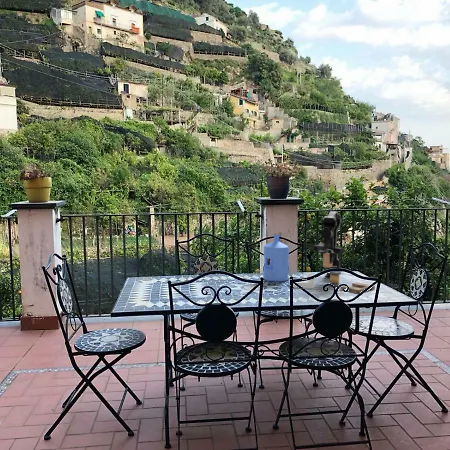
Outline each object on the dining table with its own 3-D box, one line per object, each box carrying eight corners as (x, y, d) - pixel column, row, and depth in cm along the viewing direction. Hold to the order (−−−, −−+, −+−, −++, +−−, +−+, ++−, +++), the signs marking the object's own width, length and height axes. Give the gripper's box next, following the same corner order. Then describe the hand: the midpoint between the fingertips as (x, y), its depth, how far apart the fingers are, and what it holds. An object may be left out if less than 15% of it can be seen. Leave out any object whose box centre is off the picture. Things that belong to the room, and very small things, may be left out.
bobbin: (326, 284, 255) (326, 271, 254) (332, 283, 260) (333, 270, 259) (336, 287, 250) (336, 273, 249) (342, 285, 255) (343, 272, 254)
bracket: (311, 285, 254) (311, 273, 253) (314, 288, 247) (314, 275, 246) (289, 285, 254) (289, 272, 253) (291, 288, 247) (292, 275, 246)
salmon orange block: (322, 266, 260) (323, 253, 259) (326, 265, 262) (327, 252, 262) (328, 267, 257) (329, 254, 256) (332, 266, 260) (332, 253, 259)
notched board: (340, 289, 243) (340, 286, 243) (356, 285, 254) (356, 282, 254) (358, 293, 235) (358, 290, 234) (374, 289, 246) (374, 285, 246)
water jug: (285, 276, 278) (286, 233, 275) (290, 282, 262) (291, 236, 260) (261, 276, 277) (262, 233, 274) (265, 282, 261) (266, 236, 259)
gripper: (307, 237, 259) (307, 262, 261) (334, 240, 246) (333, 267, 247) (318, 235, 267) (317, 260, 268) (345, 238, 254) (344, 264, 255)
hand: (327, 263), depth 259 cm, fingers closed on salmon orange block, 4 cm apart
